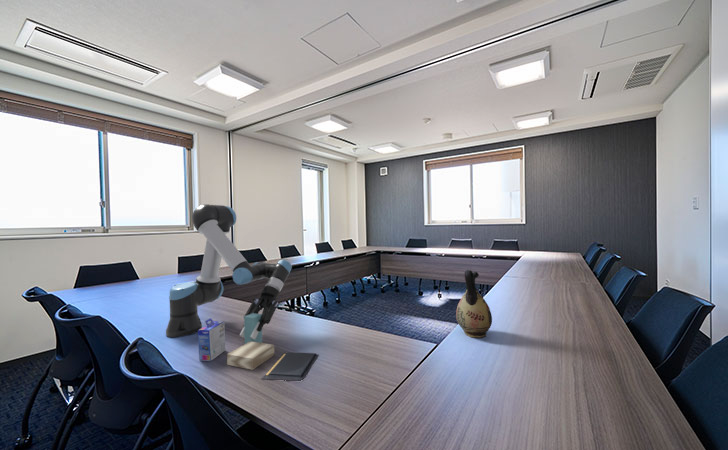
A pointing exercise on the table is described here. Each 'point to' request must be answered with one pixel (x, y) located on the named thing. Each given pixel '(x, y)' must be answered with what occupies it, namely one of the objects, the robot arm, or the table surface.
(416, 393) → the table surface
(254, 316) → the teal block
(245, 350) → the birch riser
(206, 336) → the ink cartridge box
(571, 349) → the table surface
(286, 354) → the wallet
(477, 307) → the ceramic jug
